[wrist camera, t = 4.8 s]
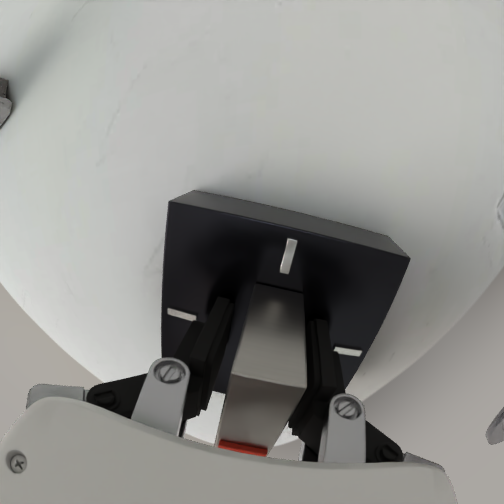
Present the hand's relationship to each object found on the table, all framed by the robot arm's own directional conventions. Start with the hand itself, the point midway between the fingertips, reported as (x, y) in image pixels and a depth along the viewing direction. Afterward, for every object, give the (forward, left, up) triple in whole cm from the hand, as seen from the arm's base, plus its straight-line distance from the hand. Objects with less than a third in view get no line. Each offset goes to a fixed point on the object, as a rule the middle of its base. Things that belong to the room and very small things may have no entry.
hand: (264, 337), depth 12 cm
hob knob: (0, 0, 0) cm, 0 cm away
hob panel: (0, 0, -3) cm, 3 cm away
